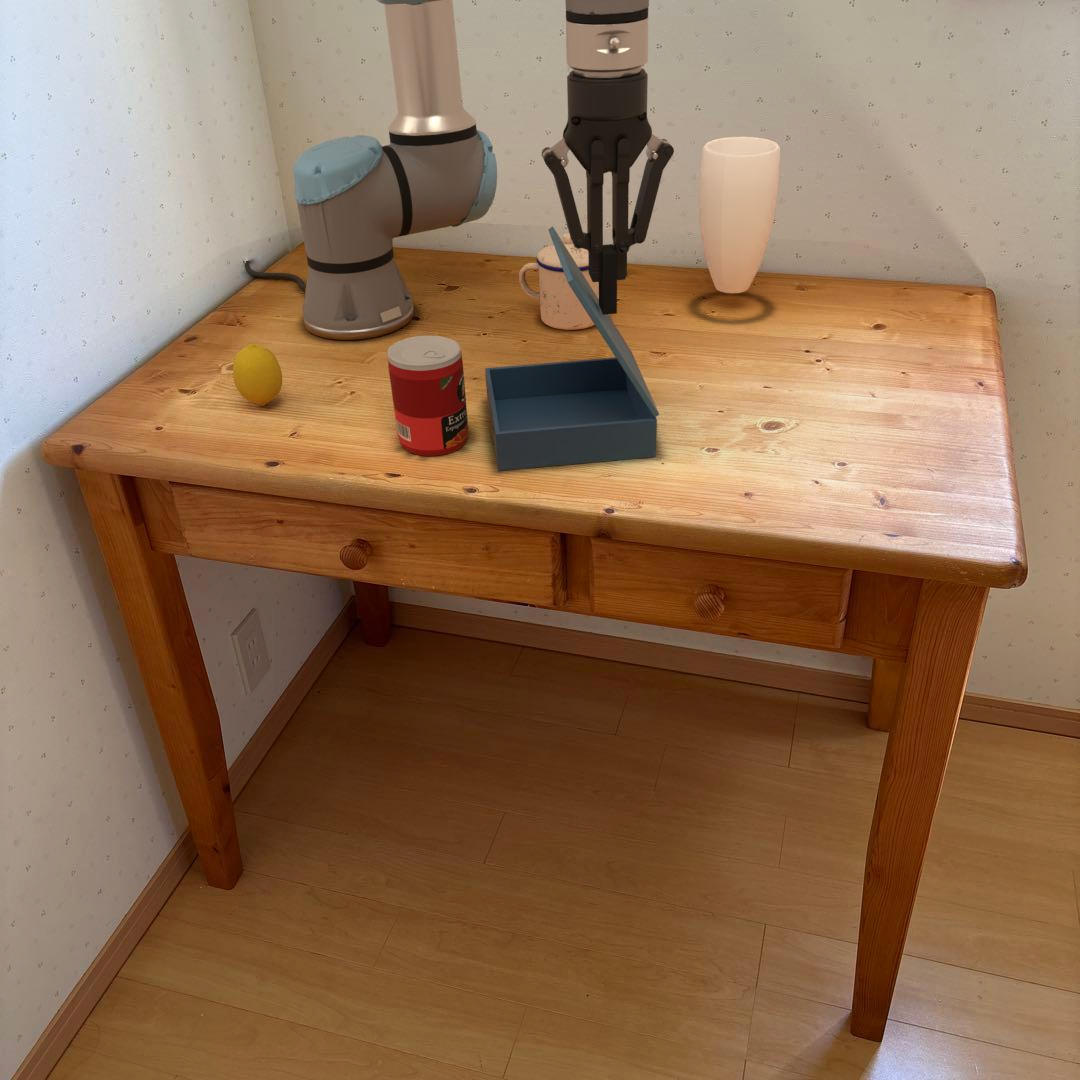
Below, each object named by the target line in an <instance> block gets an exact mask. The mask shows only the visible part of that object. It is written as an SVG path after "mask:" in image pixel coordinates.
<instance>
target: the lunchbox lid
mask: <svg viewBox="0 0 1080 1080" xmlns="http://www.w3.org/2000/svg"><path fill="white" fill-rule="evenodd" d="M547 231H548V233H549V236H550V239H551V241H552V245H553V244H554V247H555V249H556V252H557V255H558V258H559V260H560V263H561V266H562V268H563V271H564V274H565V277H566V279H567V282H568V284H569V285H570V287H571V289H572V290H573V292H574V293H575V295H576V296H577V298H578V299H579V301H580V303H581V304H582V306H583V307H584V309H585V310H586V312H587V313H588V315H589V317H590V318H591V320H592V321H593V323H594V324H595V325H594V327H595V328H596V329H597V331H598V332H599V334H600V336H601V338H603V340H604V341H605V343H606V344H607V346H608V348H609V350H610V351H611V352H612V354H613V355H614V357H616V359H617V360H618V362H619V363H620V365H621V366H622V368H623V369H624V371H625V373H626V374H627V376H628V377H629V379H630V380H631V382H632V383H633V385H634V387H635V388H636V390H637V391H638V393H639V394H640V396H641V397H642V399H643V401H644V402H645V404H646V405H647V407H648V408H649V410H650V411H651V413H652V415H653V416H654V417H656V418H657V417H659V416H660V412H659V410H658V408H657V406H656V404H655V401H654V400H653V397H652V395H651V392H650V390H649V388H648V385H647V383H646V381H645V379H644V376H643V374H642V371H641V369H640V367H639V365H638V363H637V360H636V358H635V356H634V353H633V352H632V349H631V348H630V347H629V345H628V344H627V341H626V340H625V339H624V337H623V336H622V334H621V332H620V330H619V329H618V328H617V326H616V325H615V323H614V321H613V320H612V318H611V316H610V314H606V315H603V314H602V311H601V309H600V307H599V299H598V297H597V296H596V294H595V293H594V291H593V290H592V288H591V286H590V285H589V283H588V282H587V280H586V278H585V277H584V275H583V274H582V272H581V270H580V269H579V267H578V266H577V264H576V263H575V261H574V259H573V258H572V256H571V255H570V253H569V251H568V250H567V248H566V247H565V245H564V244H563V242H562V240H563V239H561V237H560V236H559V234H558V233H557V230H555V227H554V226H551V227H549V228H548V230H547Z"/></svg>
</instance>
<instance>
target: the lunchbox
mask: <svg viewBox="0 0 1080 1080" xmlns="http://www.w3.org/2000/svg"><path fill="white" fill-rule="evenodd" d="M484 372H485V373H484V375H485V386H486V388H485V389H486V401H487V402H486V403H487V408H488V414H489V420H490V427H491V433H492V440H493V448H494V453H495V461H496V466H497V471H498V472H503V471H514V470H515V471H516V470H525V469H535V468H536V469H537V468H547V467H556V466H557V467H559V466H567V465H568V466H569V465H579V464H590V463H603V462H613V461H623V460H624V461H625V460H635V459H646V458H656V457H657V437H658V433H657V432H658V419H657V417H654V416H653V415H652V413H651V411H650V410H649V408H648V407H647V405H646V404H645V402H644V401H643V399H642V397H641V396H640V394H639V393H638V391H637V390H636V388H635V387H634V385H633V383H632V382H631V380H630V379H629V377H628V376H627V374H626V373H625V371H624V369H623V368H622V366H621V365H620V363H619V362H618V360H617V359H616V357H615V356H614V357H603V358H602V357H601V358H600V357H599V358H589V359H579V360H567V361H553V362H543V363H531V364H521V365H520V364H519V365H505V366H496V367H495V366H494V367H485V368H484Z"/></svg>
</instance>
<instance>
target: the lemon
mask: <svg viewBox="0 0 1080 1080" xmlns="http://www.w3.org/2000/svg"><path fill="white" fill-rule="evenodd" d="M232 363H233V364H232V378H233V382H234V385H235V387H236V390H237V391H238V393H239V394H240V395H241V396H242V398H243V399H244V400H246V401H248V402H250V403H253V404H258V405H259V406H260V407H266V406H267V405H268V404H269V402H271V401H273V400H275V399H276V398H277V396H278V395H280V392H281V389H282V384H283V374H282V373H283V372H282V369H281V366H280V363H279V361H278V358H277V357H276V355H275V354H274V353H273V351H271V350H270V349H269V348H267V347H265V346H263V345H260V344H255V343H254V342H251V343H248V344H247V345H246V346H244V347H242V348H241V349H240V350H239V351H238V352H237V354H236V355H235V356H234V358H233V362H232Z"/></svg>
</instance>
